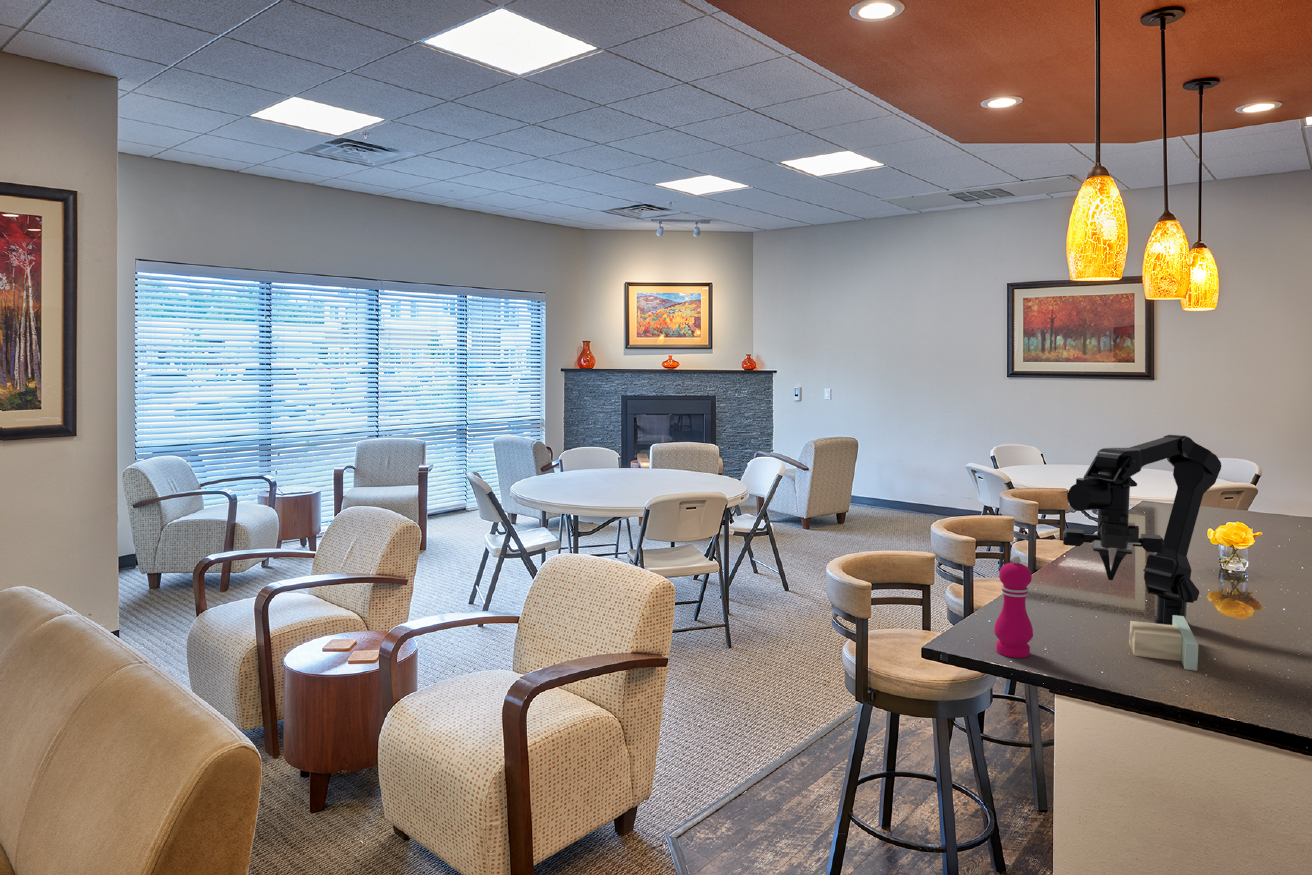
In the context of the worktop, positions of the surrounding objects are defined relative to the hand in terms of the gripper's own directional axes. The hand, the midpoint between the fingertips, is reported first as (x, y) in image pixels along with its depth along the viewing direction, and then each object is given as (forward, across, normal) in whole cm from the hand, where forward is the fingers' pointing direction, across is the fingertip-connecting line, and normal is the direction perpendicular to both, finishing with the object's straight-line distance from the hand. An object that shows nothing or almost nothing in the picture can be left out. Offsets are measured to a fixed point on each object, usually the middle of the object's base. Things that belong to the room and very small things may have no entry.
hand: (1110, 579), depth 177 cm
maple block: (+12, +8, -8) cm, 17 cm away
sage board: (+12, +13, -7) cm, 19 cm away
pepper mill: (+12, -18, -21) cm, 30 cm away
